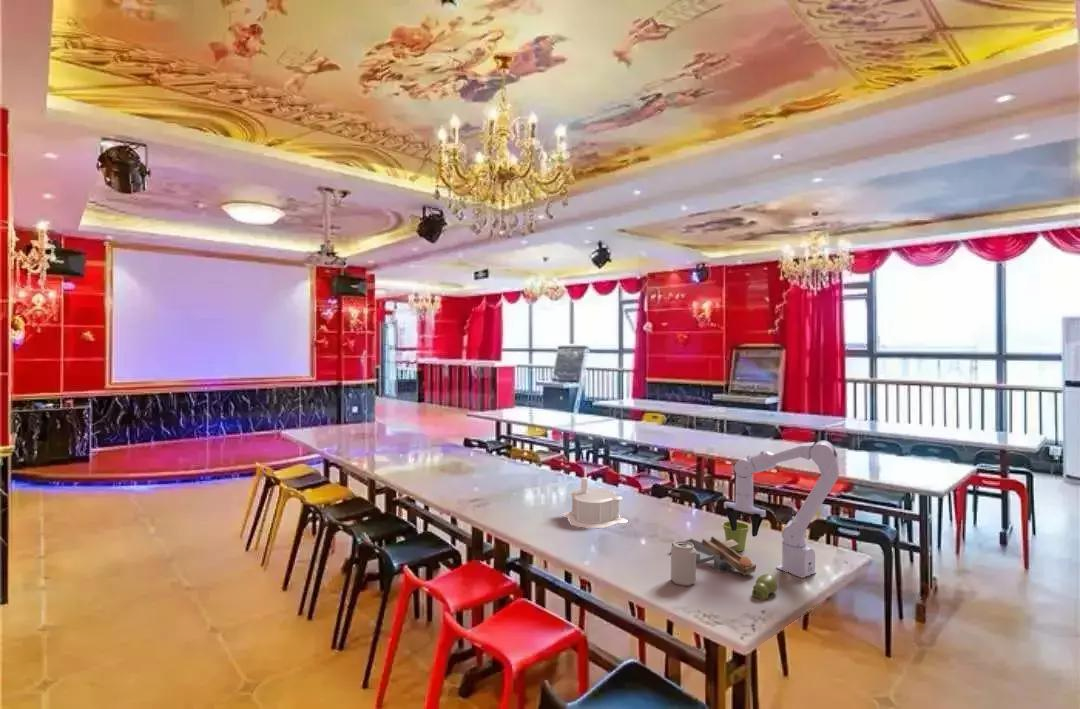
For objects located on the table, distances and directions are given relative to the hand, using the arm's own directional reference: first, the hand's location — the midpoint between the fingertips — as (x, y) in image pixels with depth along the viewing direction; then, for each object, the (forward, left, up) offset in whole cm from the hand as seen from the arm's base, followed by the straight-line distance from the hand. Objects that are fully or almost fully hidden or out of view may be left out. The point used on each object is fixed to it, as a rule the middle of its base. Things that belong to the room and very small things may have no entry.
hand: (744, 532), depth 191 cm
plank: (-1, +7, -6) cm, 9 cm away
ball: (-8, +10, -5) cm, 14 cm away
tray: (+13, +10, -9) cm, 19 cm away
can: (-1, +31, -10) cm, 33 cm away
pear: (-20, +18, -10) cm, 28 cm away
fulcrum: (0, +10, -9) cm, 14 cm away
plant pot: (+9, -7, -10) cm, 15 cm away
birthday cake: (+64, +15, -10) cm, 66 cm away
